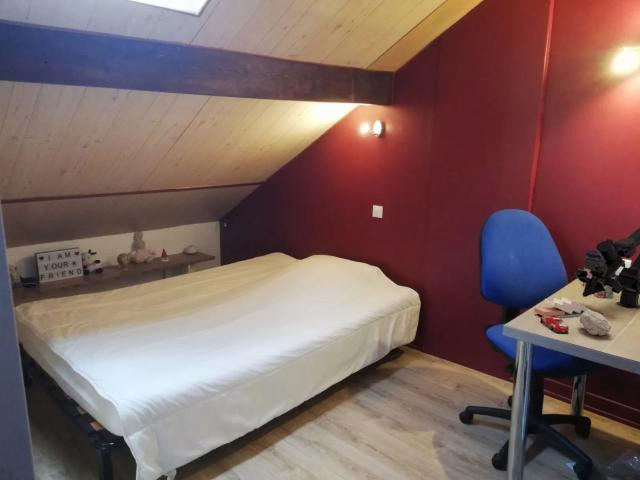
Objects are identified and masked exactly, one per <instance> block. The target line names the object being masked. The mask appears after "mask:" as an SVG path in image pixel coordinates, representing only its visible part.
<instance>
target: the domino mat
mask: <svg viewBox="0 0 640 480" xmlns="http://www.w3.org/2000/svg"><path fill="white" fill-rule="evenodd" d="M586 307H587V308H589V310H592V311H594V312H597V313H599V314H601V315H604V312H602V311H599V310H597V309H595V308H592V307H589V306H586ZM583 312H584V311H582V310H581V312H580V313H577V312H575V311H573V312H572V314H570V313H567V312H565V315H560V316H553V317H558V318H560V319H566V318H567V319H568V318H569V319H570V318H580V316H581V315H582V313H583Z"/></svg>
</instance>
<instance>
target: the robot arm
mask: <svg viewBox="0 0 640 480" xmlns="http://www.w3.org/2000/svg"><path fill="white" fill-rule="evenodd" d="M638 246H640V227H639V228H637V229H636V230H635V231H633V232H632V233H631V234H630V235H629V236H627V237H626V238H620V239H618V240H616V241H614V239H610V238H607V239H606V240H603V241H600V242H599V243H598V244H596V246H595V247H596V251H598V252H599V254H600V256H601V257H602V259H603V260H605V261H604V262H603V263H600V264H598V263H595V262H591V261H587V263H586V265H585V264H584V267H583V269H582V268H576V269H575V270H574V272H573V273H574V275H575V277H576V278H577V279H578V281H579V282H581V283H586V285H585V287H583V288H584V289H583V291H582V294H581V295H582V297H583V298H586V297H589V296H592V295H593V294H595V293H597V292H601V291H605V288H606V287H608V286H609V287H612V292H613V294H618V295H619V294H620V296H619V301H616V303H615V304H618V305H620V306H623V307H626V308H629V309H632V308H633V309H634V308H640V304H639V301H640V300H639V298H640V252H639V253H638V254H637V256H636V258H635V259H634V260H633V262H632V263H631V265H630V266H629V267H626V260H625V259H630V258H632V257H633V256H634V255H635V254H636V253H637V249H638ZM623 258H625V259H623ZM621 267H622V269H621V271H620V272H619V273H618V275H617V274H616V275H615V274H614V273H615V272H616V273H617V271H618V270H620V268H621ZM584 268H585V269H588V270H590V273H591V274H592V275H590V274H588V273H587V271H585V270H584ZM615 276H617V277H615ZM611 277H615V279H612V278H611Z"/></svg>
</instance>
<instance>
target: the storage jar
mask: <svg viewBox="0 0 640 480" xmlns="http://www.w3.org/2000/svg"><path fill="white" fill-rule="evenodd" d="M587 261H591V262H595V263H598V264H600V263H603V262H604V261H605V260H603V259H602V257H601V256H600V254H599V252H598V251H597V250H586V251H585V256H584V266H585V265H586V263H587Z"/></svg>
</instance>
